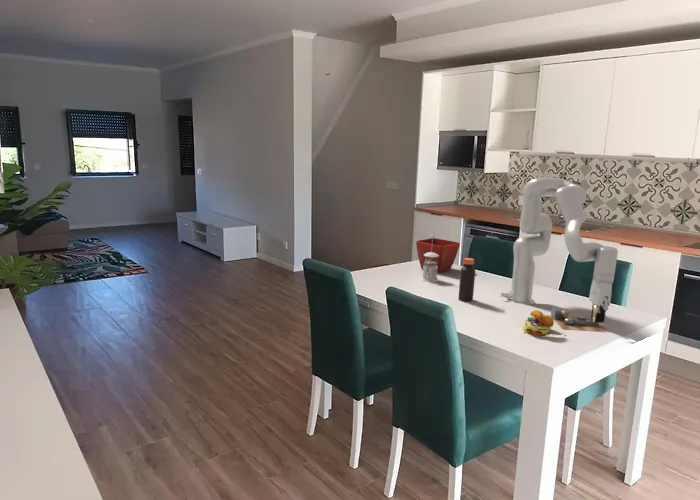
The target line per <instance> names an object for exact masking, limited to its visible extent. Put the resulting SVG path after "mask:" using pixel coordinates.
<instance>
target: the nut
mask: <svg viewBox="0 0 700 500" xmlns="http://www.w3.org/2000/svg"><path fill="white" fill-rule="evenodd" d="M568 317H570V312H568V310H566V309H562V310H561V318H563V319H565V318H568Z"/></svg>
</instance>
